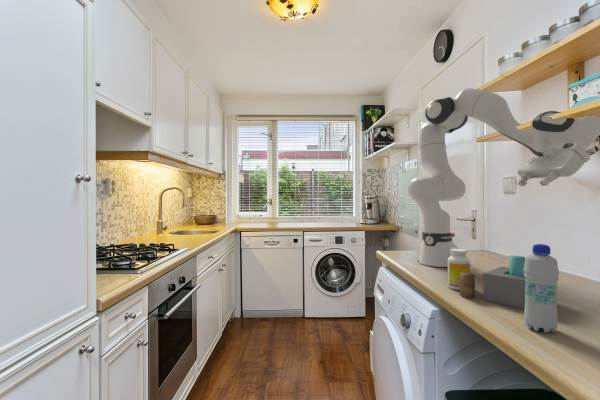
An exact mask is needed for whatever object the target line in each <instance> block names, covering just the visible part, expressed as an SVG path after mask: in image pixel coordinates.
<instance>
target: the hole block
mask: <svg viewBox="0 0 600 400" xmlns="http://www.w3.org/2000/svg"><path fill="white" fill-rule="evenodd" d="M525 280H526V279H525V277H520V276H514V275H509V267H508V266H507V267H506V266H499V267H497V268H494V269H491V270H488V271H486V272H485V271H484V272H483V298H482V300H483V301H488V302H492V303H496V304H501V305H505V306H509V307H513V308H515V309H516V308H517V309H521V310H525Z"/></svg>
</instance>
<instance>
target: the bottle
mask: <svg viewBox="0 0 600 400" xmlns="http://www.w3.org/2000/svg"><path fill="white" fill-rule="evenodd" d="M558 264H559V263H558V260H557V258H555V257H553V256H552V255H551V247H550V245H548V244H543V243H539V244H538V243H537V244H534V245H533V246H532V254H529V255H527V256H526V257H525V264H524V269H523V270H524V276H525V279H526V280H525V310H524V309H523V310H524V311H523V313H524V314H523V316H524V322H525V325H526V327H527V328H528V329H531V330H532V329H533V330H534V331H535V332H539V331H540V329H543V332H544V334H546V333H547V334H548V333H554V332H555V331H556V330H557V327H558V323H559V321H558V310H557V309H558V308H557V303H558V302H557V299H558V298H557V296H558V292H557V290H558V287H557V286H558V285H557V283H558V281H559V280H560V279H559V275H560V272H559V271H560V270H559V266H558Z"/></svg>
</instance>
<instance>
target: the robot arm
mask: <svg viewBox="0 0 600 400" xmlns="http://www.w3.org/2000/svg"><path fill="white" fill-rule="evenodd" d="M424 111H425V112H424V115H425V118H426V120H427V121H428V122H427V123H426V124H423V125H422V126H421V128H420V130H419V134H418V135H419V136H418V137H419V138H418V139H419V141H418V147H419V156H420V158H419V159H420V165H421V167H422V168H423V169H424V170H427V171H428V172H429V173H430V174H431V176H420V177H415V178H413V179H411V180H410V181H409V183H408V187H407V192H408V195H409V197H410V198H411V199H412V200H413V201H414V202H415V203H416V204H417V205H418V207H419V208H420V211H421V215H422V226H423V231H421V232H422V233H421V237H422V242H420V246H419V255H418V256H419V257H418V258H417V259H416V260H417V262H419V264H421V265H423V266H430V267H437V268H438V267H439V268H448V258H449V257H451V256H452V254H451V249H460V248H459V247H458V245H456V243H455V242H454V241H453V238H455V232H451V215H450V214H449V212H447V211H445V210H444V209H443V208H442V207H441V205H440V202H451V201H455V200H460V199H462V198H463V197H464V195H465V193H466V189H467V188H466V184H465V182H464V180H463V179H462V178H460V177H459V176H458V175H457V174H455V172H454V170H453V169H452V167H451V165H450V162H449V159H448V155H447V145H446V138H445V137H446V134H451V133H453V132H455V131H457V130H460V129H461V128H464V126H465V125H466V124H467V122H468V119H469V117H470V118H472V119H475V120H477V121H480V122H482V123H484V124H486V125H487V126H489V127H491V128H492V129H493V130H495V131H496V132H498V133H499V134H501V135H503V136H505V137H507V138H508V139H510V140H513V141H515V142H516V143H519V144H520V145H523V146H524V147H526V148H527V149H528V150H530V152H532V154H533V155H535V156H536V157H533V158H531V159H529V160H528V161H527V162H526V163H525V162H524V164H523V165H521V167H520V168H519V169H518V170H517V174H518V176H519V177H520V179H519V181H518V182H517V184H518V186H519V187H525V186H526V185H527V184H528V181H529V180H530V179H541V180H539V185H540V186H542V187H544V186H548V185H549V184H550V183H552V182H553V181H556V180H557V179H558V178H560V177H561V178H562V177H563V178H564V177H565V178H566V177H571V176H573V175H574V174H576V173H577V172H578V171H579V170H580V169H582V167H583V166H585V164H586V163H587V162H589V160H590V159H591V156H590V155H589V154H588V153H587V152H586V149H587V148H589V147H590V146H591V145H592V144H593V143H594V142H595V141H596V140H597V138H598V137H599V136H600V116H599V115H597V114H596V115H592V116H584V117H577V118H560V119H552V117H548V116H551V115H554V114H556V113H561V111H556V110H549V111H548V110H547V111H544V112H541V113H540V114H538V115H536V116H535V117H534V118H533V120H532V121H531V128H530V129H525V130H519V129H517V128H516V126H519V125H523V124H521V123H519V122H518V120H517V119H515V117H514V116H513V113H512V112H511V109H510V107H509V105H508V102H507V101H506V98H504V97H503V96H501V95H499V94H497V93H495V92H491V91H488V90H484V89H480V88H479V89H478V88H468V87H467V88H464V89H462V90H461V91H460V92H459V93H458V94H457V95H456V97H455V98H452V97H451V96H448V97H445V98H443V97H442V98H436V99H434V100H432V101H431V102H429V103H428V104H427V105H426V107H425V110H424Z"/></svg>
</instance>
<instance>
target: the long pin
mask: <svg viewBox="0 0 600 400" xmlns="http://www.w3.org/2000/svg"><path fill="white" fill-rule="evenodd" d="M525 258H526V257H525V256H522V255H509V256H508V259H509V260H508V268H509V275H514V276H520V277H525V276H524V270H523V269H524V264H525Z"/></svg>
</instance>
